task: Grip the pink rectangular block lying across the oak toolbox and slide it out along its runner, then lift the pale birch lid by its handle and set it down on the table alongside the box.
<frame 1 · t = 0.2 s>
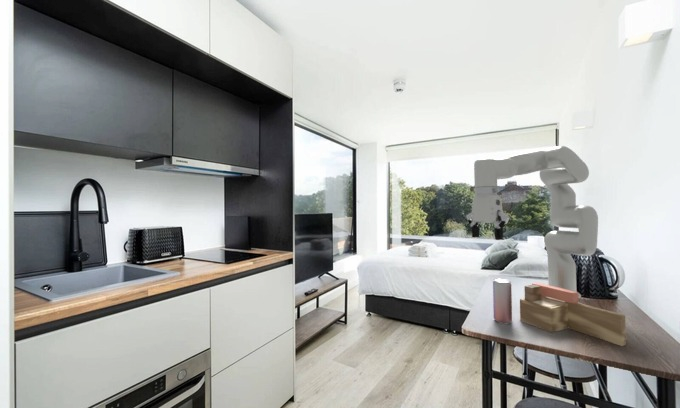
hand: (486, 238, 106), 31 cm above the table, tool pointing down, fingers open, 9 cm apart
pink rectangular block: (554, 292, 105), point 11 cm above the table, slide at 0.0 cm
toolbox: (547, 323, 104), on the table
beverage can: (502, 321, 107), on the table
lid: (546, 303, 104), point 7 cm above the table, touching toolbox
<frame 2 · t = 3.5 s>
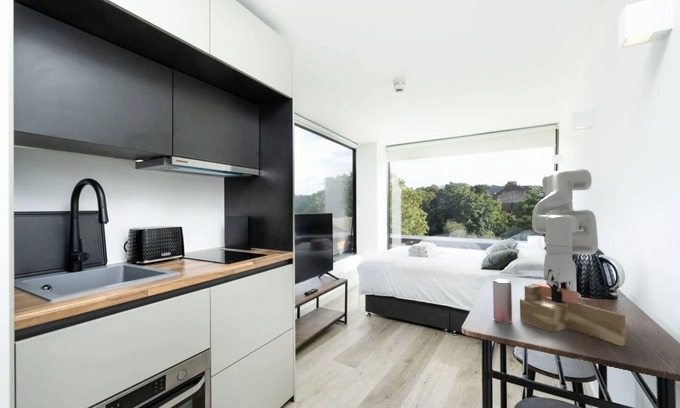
hand: (560, 300, 103), 8 cm above the table, tool pointing down, fingers closed on pink rectangular block, 3 cm apart
pink rectangular block: (554, 292, 105), point 11 cm above the table, slide at 0.0 cm, touching gripper
everything else where it was.
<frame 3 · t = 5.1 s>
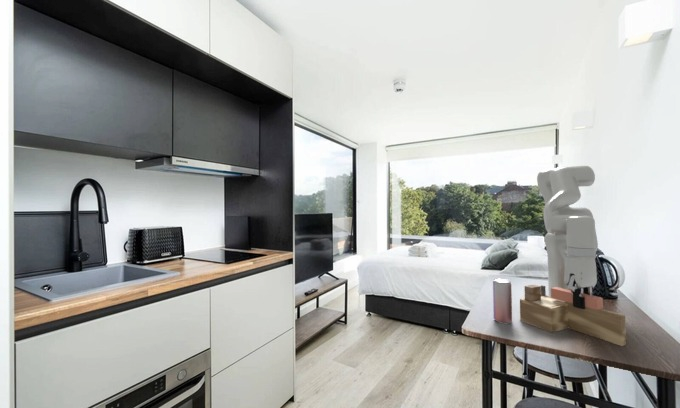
hand: (582, 306, 97), 8 cm above the table, tool pointing down, fingers closed on pink rectangular block, 3 cm apart
pink rectangular block: (575, 297, 99), point 11 cm above the table, slide at 6.8 cm, touching gripper
everything else where it was.
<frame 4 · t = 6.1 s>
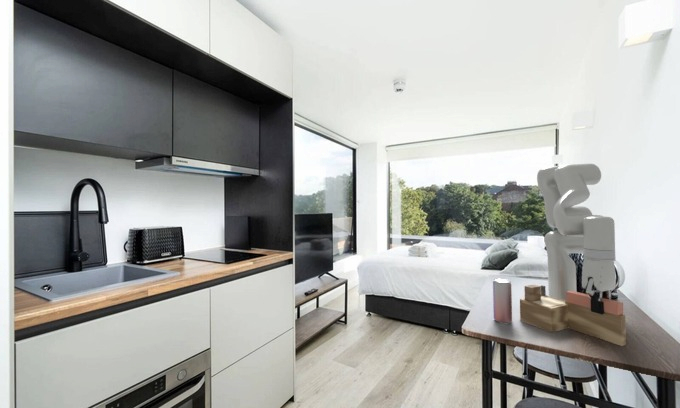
hand: (600, 311, 92), 8 cm above the table, tool pointing down, fingers closed on pink rectangular block, 3 cm apart
pink rectangular block: (593, 302, 94), point 11 cm above the table, slide at 11.9 cm, touching gripper
everything else where it was.
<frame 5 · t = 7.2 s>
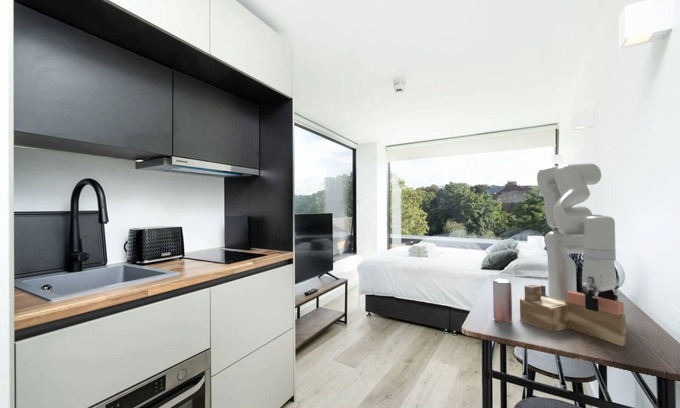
hand: (600, 307, 92), 10 cm above the table, tool pointing down, fingers open, 9 cm apart
pink rectangular block: (593, 302, 94), point 11 cm above the table, slide at 12.0 cm
everything else where it was.
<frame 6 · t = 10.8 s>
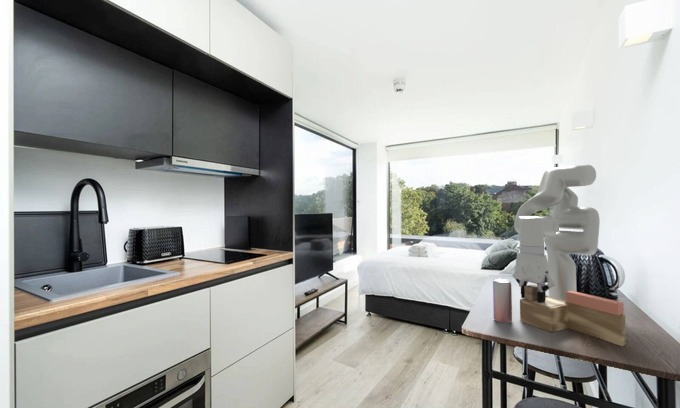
hand: (532, 299, 106), 8 cm above the table, tool pointing down, fingers open, 5 cm apart
lid: (546, 303, 104), point 7 cm above the table, touching gripper, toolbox
everything else where it was.
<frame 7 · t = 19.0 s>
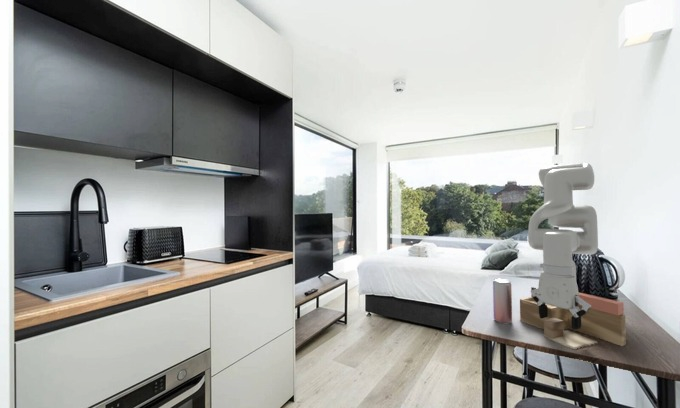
hand: (559, 322, 93), 5 cm above the table, tool pointing down, fingers open, 9 cm apart
lid: (570, 341, 91), on the table
everything else where it was.
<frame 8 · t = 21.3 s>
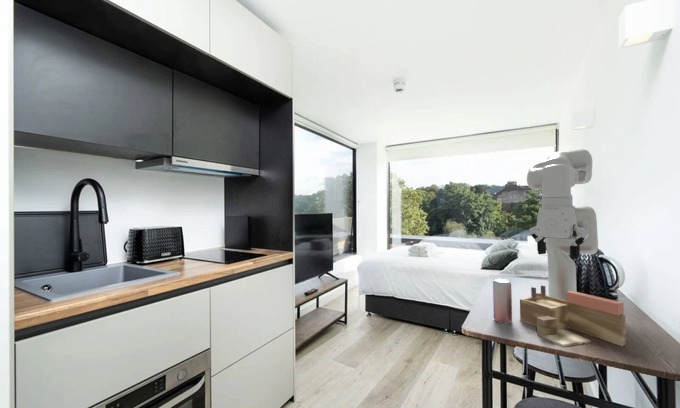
hand: (557, 256, 93), 26 cm above the table, tool pointing down, fingers open, 9 cm apart
lid: (563, 339, 92), on the table
everything else where it was.
at the end: pink rectangular block slide at 12.0 cm; lid inside the target area (3.3 cm from its centre), on the table; lid tilted 0° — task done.
